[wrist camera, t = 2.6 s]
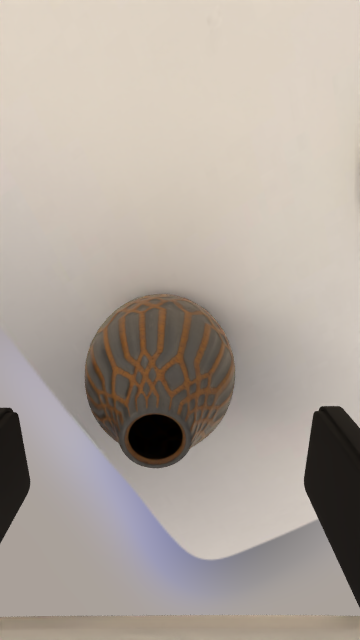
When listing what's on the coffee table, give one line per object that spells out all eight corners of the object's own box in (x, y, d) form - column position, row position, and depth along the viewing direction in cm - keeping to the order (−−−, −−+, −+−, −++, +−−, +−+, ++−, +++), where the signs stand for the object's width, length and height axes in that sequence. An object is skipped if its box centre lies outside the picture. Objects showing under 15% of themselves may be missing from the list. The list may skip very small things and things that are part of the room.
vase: (86, 302, 18) (10, 376, 10) (204, 267, 17) (233, 312, 9) (127, 404, 20) (94, 539, 12) (234, 375, 20) (279, 493, 11)
